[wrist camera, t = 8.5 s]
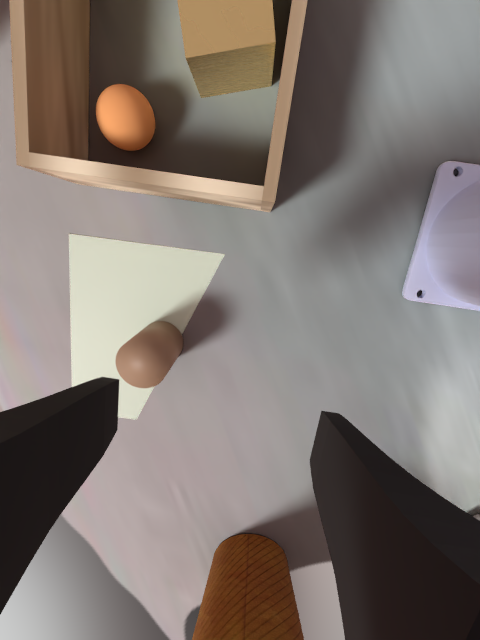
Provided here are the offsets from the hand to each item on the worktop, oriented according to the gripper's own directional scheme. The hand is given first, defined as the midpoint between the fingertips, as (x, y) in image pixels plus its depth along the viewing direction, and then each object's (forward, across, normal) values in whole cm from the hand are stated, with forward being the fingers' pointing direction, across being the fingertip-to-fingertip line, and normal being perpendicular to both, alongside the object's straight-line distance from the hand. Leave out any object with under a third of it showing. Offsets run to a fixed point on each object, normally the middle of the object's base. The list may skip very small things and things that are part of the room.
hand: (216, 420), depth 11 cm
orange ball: (+10, +8, -12) cm, 17 cm away
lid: (+11, +5, +2) cm, 12 cm away
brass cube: (+10, +2, -16) cm, 19 cm away
